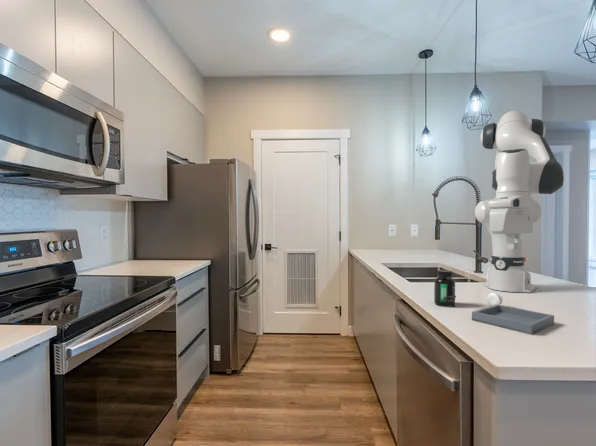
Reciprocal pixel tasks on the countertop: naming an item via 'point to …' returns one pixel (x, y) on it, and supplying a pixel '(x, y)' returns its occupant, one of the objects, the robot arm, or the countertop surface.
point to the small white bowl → (494, 299)
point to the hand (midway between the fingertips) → (512, 249)
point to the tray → (513, 318)
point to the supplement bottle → (444, 288)
